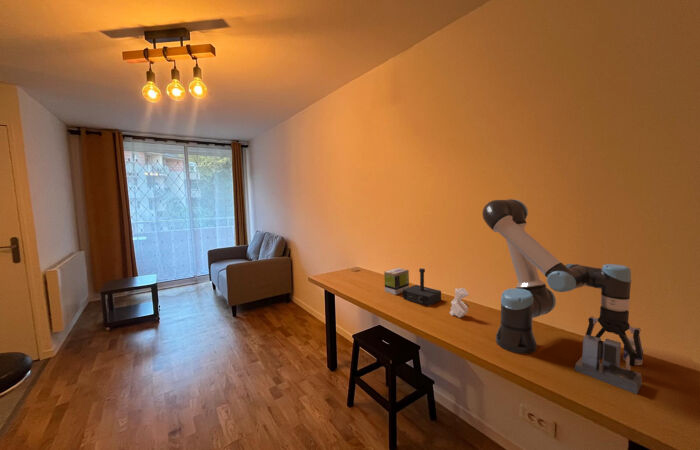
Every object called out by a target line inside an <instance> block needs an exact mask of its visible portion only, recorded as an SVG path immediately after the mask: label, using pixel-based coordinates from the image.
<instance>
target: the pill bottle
mask: <svg viewBox="0 0 700 450" xmlns="http://www.w3.org/2000/svg"><path fill="white" fill-rule="evenodd" d="M627 338H628V340H629V342H630V344H631V346H632V348H633V350H634V352H635V353H636V349H635V344H634V339H633V336H627ZM640 341H641V345H642V344H643V343H642V342H643V341H642V339H640ZM642 351H643V352H644V346H642ZM622 354H623V357H622V359H623V361H625V362H626V358H627V355H628V352H627V350H626V348H625V346H624V345H623V353H622ZM643 359H644V356H643V357H642V358H641V359H640V358H635V365H634V366H641V365H643V363H644V362H643Z"/></svg>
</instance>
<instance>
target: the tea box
mask: <svg viewBox="0 0 700 450" xmlns="http://www.w3.org/2000/svg"><path fill="white" fill-rule="evenodd" d="M409 271H410V270H409V269H407V268H401V267H395V268H393V269H388V270H385V271H383V274H384V292H385V293H387V292H388V294H390V293H391V295H394V296H396V295H399V294H403V289H406V288H409V287H410V277H409V276H410V272H409Z"/></svg>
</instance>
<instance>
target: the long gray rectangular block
mask: <svg viewBox="0 0 700 450" xmlns="http://www.w3.org/2000/svg"><path fill="white" fill-rule="evenodd" d="M621 347H622V342H620V341H616V340H613V339H610V338H605V340H603V357H602V359H601V361H602V362H601V364H604V365H607V366H610V364H613V365H616V366H619V367H621V361H620V360H621V349H622V348H621Z"/></svg>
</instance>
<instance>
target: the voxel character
mask: <svg viewBox="0 0 700 450" xmlns="http://www.w3.org/2000/svg"><path fill="white" fill-rule="evenodd" d="M469 294H470V293H469V292H468V290H467V289H466V288H465V287H460V288H454V298H453V299H452V300H451V302H450V303H451V307H450V311H449V312H448V313H449V314H450V315H451V317H452V316H455V317H456V316H457V317H458V319H460V318H463V317H464V316H466V315H467V314H468V312H469V310H468V309H469V307H468V305H466V304H465V303H464V301H463V299H465V298H466V297H468V296H469Z"/></svg>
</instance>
